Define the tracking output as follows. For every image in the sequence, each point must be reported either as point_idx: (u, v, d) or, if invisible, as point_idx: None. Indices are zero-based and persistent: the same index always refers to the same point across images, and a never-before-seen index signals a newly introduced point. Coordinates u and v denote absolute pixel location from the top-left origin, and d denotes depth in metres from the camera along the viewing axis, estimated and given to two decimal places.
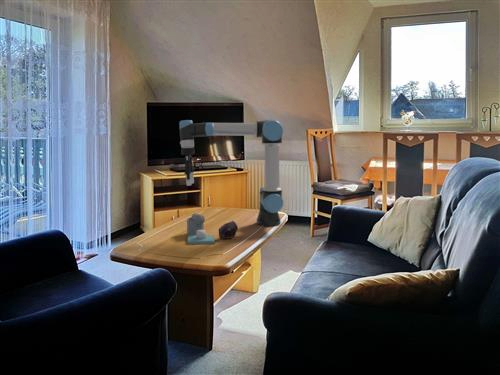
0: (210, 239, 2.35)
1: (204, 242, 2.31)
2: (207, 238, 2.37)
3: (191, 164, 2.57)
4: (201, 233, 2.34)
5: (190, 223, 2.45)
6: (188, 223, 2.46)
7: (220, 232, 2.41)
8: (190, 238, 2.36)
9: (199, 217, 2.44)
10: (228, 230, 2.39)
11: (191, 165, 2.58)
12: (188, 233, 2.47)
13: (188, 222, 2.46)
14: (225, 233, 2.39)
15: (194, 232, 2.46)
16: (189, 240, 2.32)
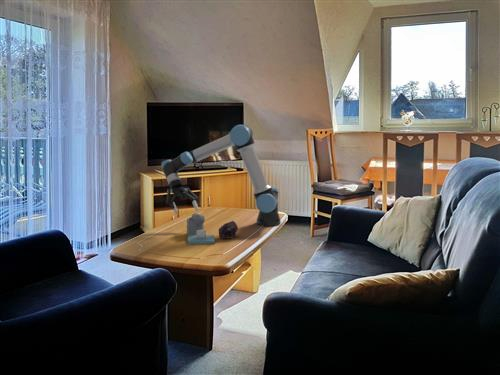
0: (210, 239, 2.35)
1: (204, 242, 2.31)
2: (207, 238, 2.37)
3: (186, 194, 2.61)
4: (201, 233, 2.34)
5: (190, 223, 2.45)
6: (188, 223, 2.46)
7: (220, 232, 2.41)
8: (190, 238, 2.36)
9: (199, 217, 2.44)
10: (228, 230, 2.39)
11: (187, 194, 2.61)
12: (188, 233, 2.47)
13: (188, 222, 2.46)
14: (225, 233, 2.39)
15: (194, 232, 2.46)
16: (189, 240, 2.32)
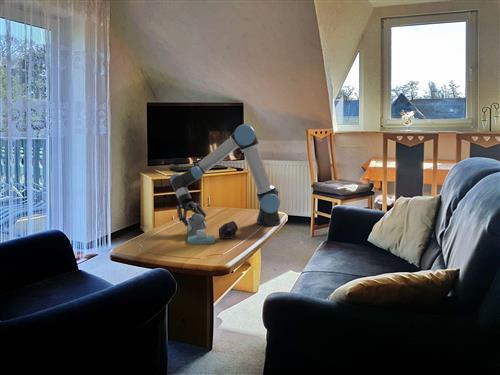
0: (210, 239, 2.35)
1: (204, 242, 2.31)
2: (207, 238, 2.37)
3: (195, 209, 2.54)
4: (201, 233, 2.34)
5: (190, 223, 2.45)
6: None
7: (220, 232, 2.41)
8: (190, 238, 2.36)
9: (199, 217, 2.44)
10: (228, 230, 2.39)
11: (195, 210, 2.54)
12: (188, 233, 2.47)
13: None
14: (225, 233, 2.39)
15: (194, 232, 2.46)
16: (189, 240, 2.32)
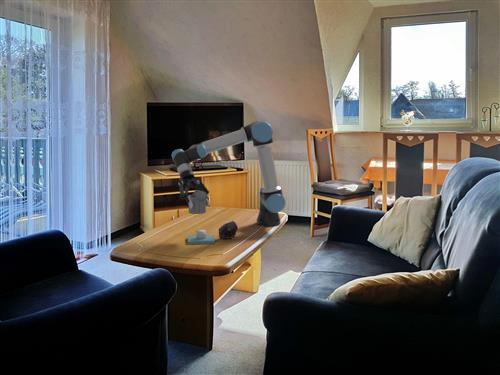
0: (210, 239, 2.35)
1: (204, 242, 2.31)
2: (207, 238, 2.37)
3: (197, 186, 2.42)
4: (201, 233, 2.34)
5: (191, 199, 2.34)
6: None
7: (220, 232, 2.41)
8: (190, 238, 2.36)
9: (201, 193, 2.32)
10: (228, 230, 2.39)
11: (198, 187, 2.42)
12: (190, 210, 2.36)
13: None
14: (225, 233, 2.39)
15: (196, 209, 2.34)
16: (189, 240, 2.32)
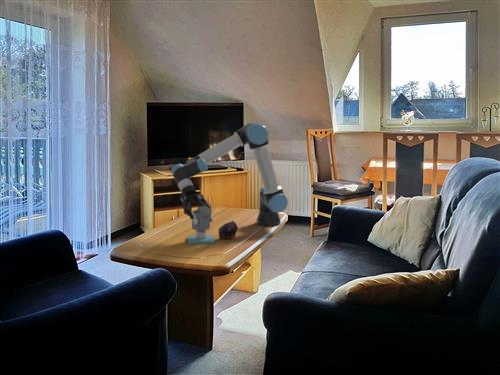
0: (210, 239, 2.35)
1: (204, 242, 2.31)
2: (207, 238, 2.37)
3: (199, 202, 2.39)
4: (201, 233, 2.34)
5: (196, 216, 2.31)
6: None
7: (220, 232, 2.41)
8: (190, 238, 2.36)
9: (206, 210, 2.30)
10: (228, 230, 2.39)
11: (200, 203, 2.39)
12: (194, 227, 2.33)
13: None
14: (225, 233, 2.39)
15: (201, 225, 2.31)
16: (189, 240, 2.32)
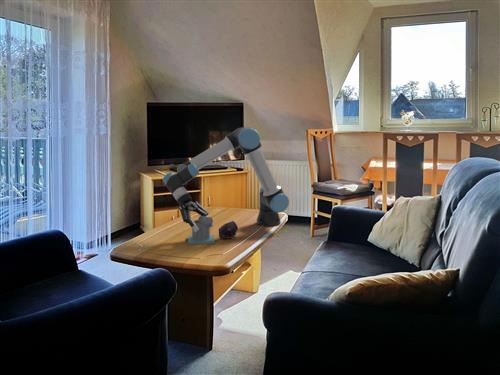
0: (210, 239, 2.35)
1: (204, 242, 2.31)
2: None
3: (197, 209, 2.40)
4: None
5: (198, 226, 2.31)
6: None
7: (220, 232, 2.41)
8: (190, 238, 2.36)
9: (208, 219, 2.32)
10: (228, 230, 2.39)
11: (198, 210, 2.40)
12: (195, 237, 2.33)
13: None
14: (225, 233, 2.39)
15: (203, 235, 2.32)
16: (189, 240, 2.32)
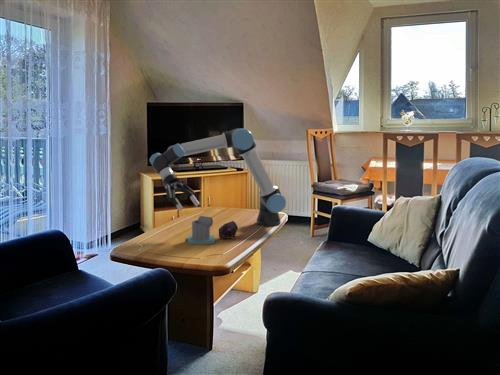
0: (210, 239, 2.35)
1: (204, 242, 2.31)
2: None
3: (183, 189, 2.44)
4: None
5: (198, 226, 2.31)
6: (196, 227, 2.32)
7: (220, 232, 2.41)
8: (190, 238, 2.36)
9: (208, 219, 2.32)
10: (228, 230, 2.39)
11: (184, 189, 2.44)
12: (195, 237, 2.33)
13: (196, 226, 2.32)
14: (225, 233, 2.39)
15: (203, 235, 2.32)
16: (189, 240, 2.32)
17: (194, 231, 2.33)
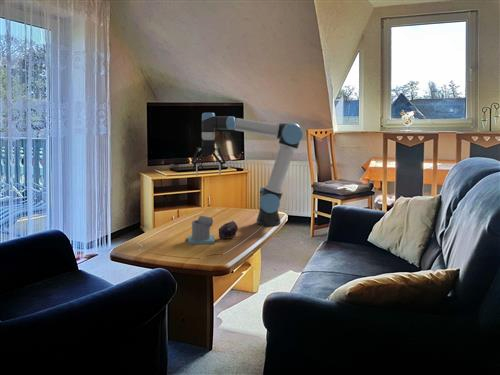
0: (210, 239, 2.35)
1: (204, 242, 2.31)
2: None
3: (214, 156, 2.59)
4: None
5: (198, 226, 2.31)
6: (196, 227, 2.32)
7: (220, 232, 2.41)
8: (190, 238, 2.36)
9: (208, 219, 2.32)
10: (228, 230, 2.39)
11: (215, 157, 2.59)
12: (195, 237, 2.33)
13: (196, 226, 2.32)
14: (225, 233, 2.39)
15: (203, 235, 2.32)
16: (189, 240, 2.32)
17: (194, 231, 2.33)
